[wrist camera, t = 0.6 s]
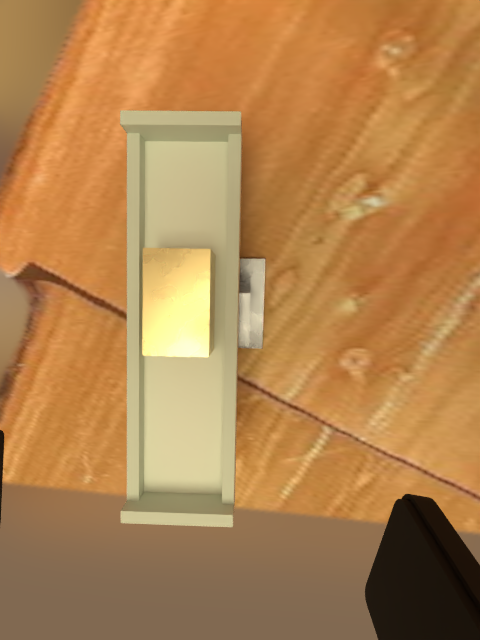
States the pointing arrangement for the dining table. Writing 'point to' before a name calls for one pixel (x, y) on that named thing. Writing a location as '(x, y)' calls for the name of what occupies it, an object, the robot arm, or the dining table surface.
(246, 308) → the pivot stand
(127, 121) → the balance beam
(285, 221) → the dining table surface
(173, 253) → the block
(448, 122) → the dining table surface
